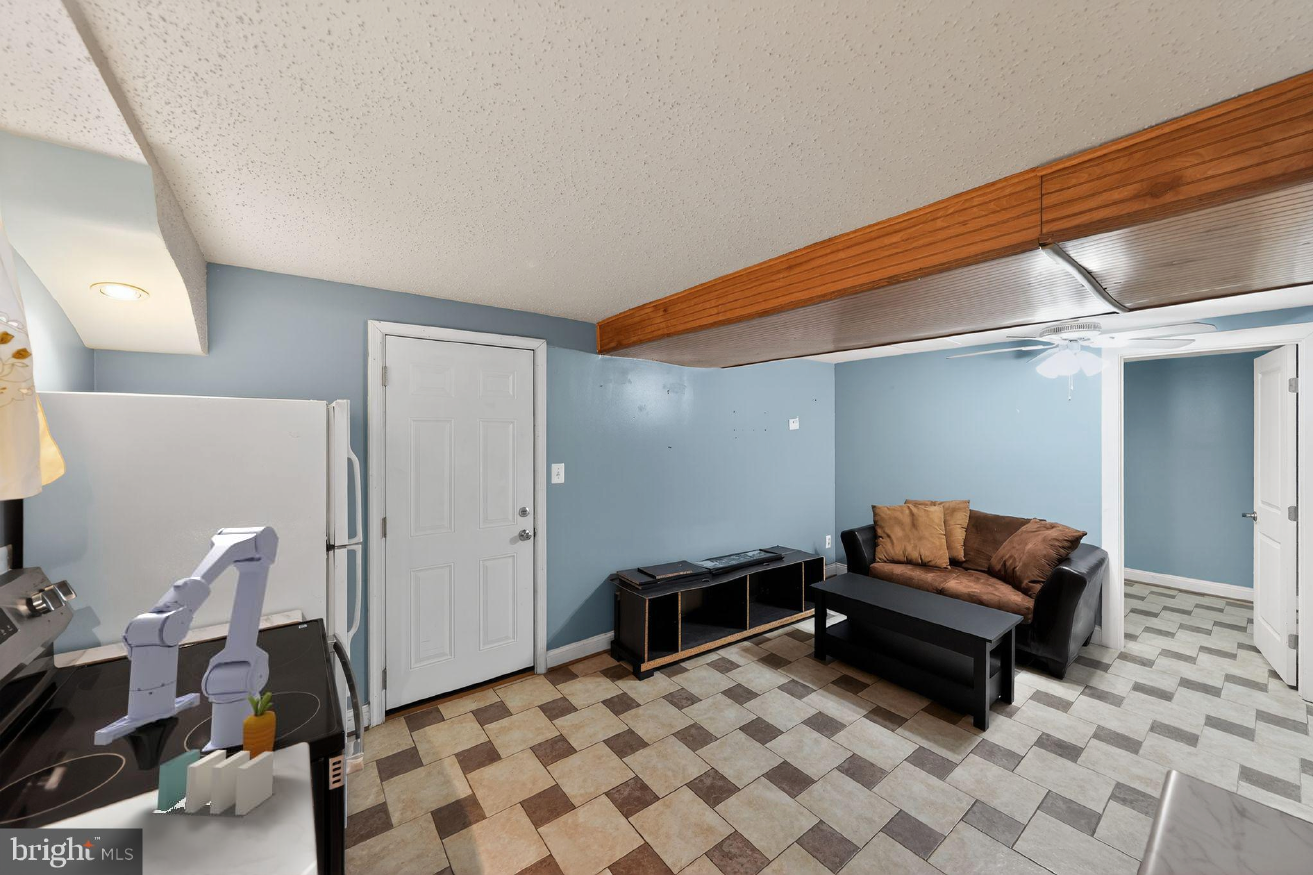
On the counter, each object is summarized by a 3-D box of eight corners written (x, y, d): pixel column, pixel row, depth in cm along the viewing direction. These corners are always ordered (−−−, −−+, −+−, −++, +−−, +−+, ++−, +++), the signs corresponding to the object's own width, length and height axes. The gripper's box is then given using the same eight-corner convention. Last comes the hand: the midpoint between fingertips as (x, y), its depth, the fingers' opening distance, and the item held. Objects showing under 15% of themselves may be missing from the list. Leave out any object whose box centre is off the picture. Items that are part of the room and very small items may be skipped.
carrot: (233, 784, 88) (237, 696, 90) (266, 769, 93) (269, 685, 94) (247, 791, 86) (251, 700, 87) (280, 776, 90) (283, 690, 92)
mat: (150, 815, 80) (150, 812, 80) (188, 792, 86) (188, 790, 86) (242, 819, 78) (242, 817, 78) (275, 796, 84) (275, 793, 84)
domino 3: (235, 814, 79) (237, 768, 80) (263, 794, 84) (265, 751, 85) (244, 814, 79) (246, 768, 80) (271, 795, 84) (273, 751, 85)
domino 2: (209, 813, 80) (212, 767, 80) (239, 794, 84) (241, 750, 85) (218, 813, 79) (221, 767, 80) (247, 794, 84) (249, 750, 85)
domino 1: (184, 812, 80) (187, 766, 81) (215, 793, 85) (217, 749, 86) (193, 812, 80) (196, 766, 81) (223, 793, 85) (226, 750, 85)
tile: (157, 811, 81) (159, 765, 81) (189, 792, 86) (191, 749, 86) (165, 811, 80) (168, 765, 81) (197, 792, 85) (200, 749, 86)
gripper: (124, 703, 78) (118, 795, 76) (216, 668, 92) (212, 746, 91) (85, 702, 78) (78, 793, 77) (182, 668, 93) (177, 745, 92)
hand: (148, 767), depth 84 cm, fingers closed
